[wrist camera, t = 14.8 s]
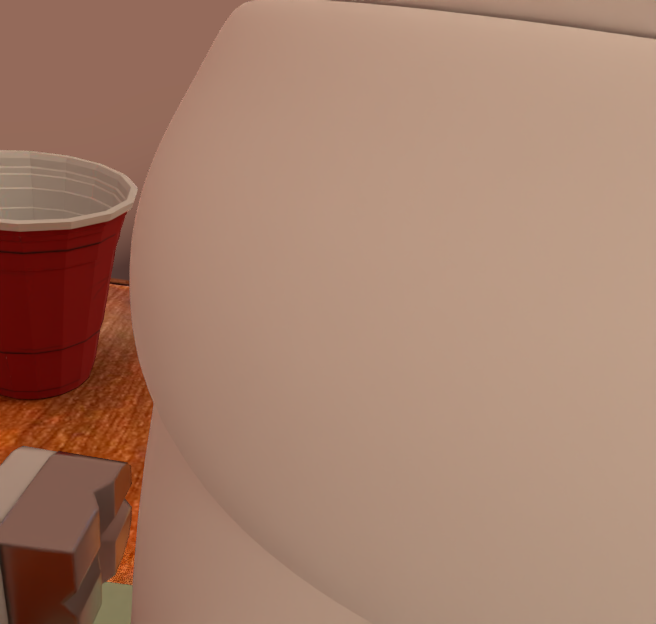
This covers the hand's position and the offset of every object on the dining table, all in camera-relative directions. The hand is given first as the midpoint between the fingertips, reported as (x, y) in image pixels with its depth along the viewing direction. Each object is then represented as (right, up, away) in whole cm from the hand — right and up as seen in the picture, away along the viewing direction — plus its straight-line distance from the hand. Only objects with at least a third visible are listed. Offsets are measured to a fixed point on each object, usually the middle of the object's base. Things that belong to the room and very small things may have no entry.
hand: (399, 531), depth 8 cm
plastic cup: (-18, -1, +24) cm, 30 cm away
